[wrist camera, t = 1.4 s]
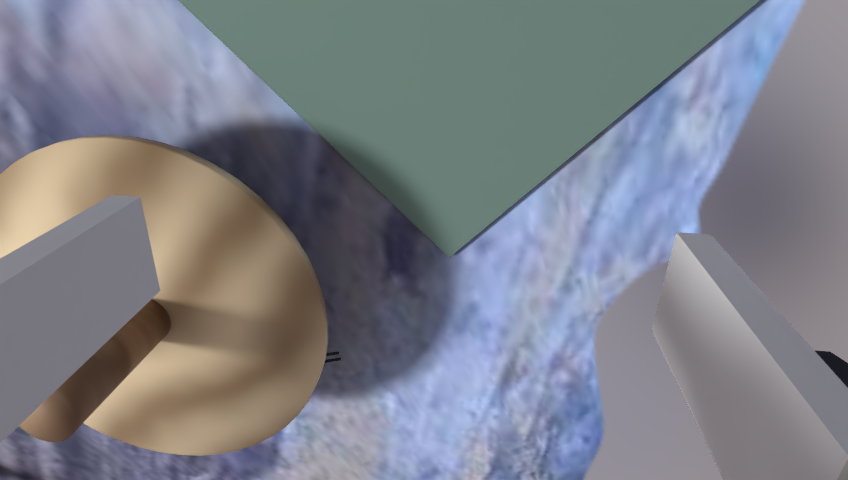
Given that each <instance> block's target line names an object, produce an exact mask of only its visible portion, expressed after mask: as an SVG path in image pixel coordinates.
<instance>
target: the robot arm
mask: <svg viewBox="0 0 848 480" xmlns="http://www.w3.org/2000/svg"><path fill="white" fill-rule="evenodd" d="M159 292H160V287H159V282H158V277H157V272H156V268H155V263H154V258H153V254H152V249H151V244H150V239H149V235H148V230H147V225H146V221H145V216H144V211H143V206H142V202H141V197H135V196H120V195H111V196H109V197H107V198H105V199H104V200H102V201H100V202H98V203H97V204H95V205H93V206H91V207H90V208H88V209H86V210H84V211H83V212H81V213H79V214H77V215H76V216H74V217H72V218H70V219H69V220H67V221H65V222H63V223H62V224H60V225H58V226H56V227H55V228H53V229H51V230H49V231H48V232H46V233H44V234H42V235H41V236H39V237H37V238H35V239H34V240H32V241H30V242H28V243H27V244H25V245H23V246H21V247H20V248H18V249H16V250H14V251H13V252H11V253H9V254H7V255H6V256H4V257H2V258H0V443H1V442H2V441H3V440H4V439H5V438H6V437H7V436H9V435H10V434H11V433H12V432H13V431H14V430H15V429H16V428H17V427H18V426H19V425H20V424H21V423H22V422H23V421H24V420H25V419H26V418H27V417H28V416H30V415H31V414H32V413H33V412H34V411H35V410H36V409H37V408H38V407H39V406H40V405H41V404H42V403H43V402H44V401H45V400H46V399H47V398H48V397H49V396H51V395H52V394H53V393H54V392H55V391H56V390H57V389H58V388H59V387H60V386H61V385H62V384H63V383H64V382H65V381H66V380H67V379H68V378H69V377H70V376H72V375H73V374H74V373H75V372H76V371H77V370H78V369H79V368H80V367H81V366H82V365H83V364H84V363H85V362H86V361H87V360H88V359H89V358H90V357H91V356H92V355H94V354H95V353H96V352H97V351H98V350H99V349H100V348H101V347H102V346H103V345H104V344H105V343H106V342H107V341H108V340H109V339H110V338H111V337H112V336H113V335H115V334H116V333H117V332H118V331H119V330H120V329H121V328H122V327H123V326H124V325H125V324H126V323H127V322H128V321H129V320H130V319H131V318H132V317H133V316H134V315H136V314H137V313H138V312H139V311H140V310H141V309H142V308H143V307H144V306H145V305H146V304H147V303H148V302H149V301H150V300H151V299H152V298H153V297H154V296H155V295H157V294H158V293H159ZM652 332H653V334H654V336H655V338H656V340H657V342H658V344H659V347H660V348H661V351H662V353H663V355H664V357H665V359H666V361H667V363H668V365H669V367H670V369H671V372H672V374H673V375H674V377H675V380H676V382H677V384H678V386H679V388H680V390H681V392H682V394H683V397H684V398H685V401H686V403H687V405H688V407H689V409H690V411H691V413H692V415H693V417H694V419H695V422H696V423H697V426H698V428H699V430H700V432H701V434H702V436H703V438H704V440H705V442H706V444H707V447H708V448H709V451H710V453H711V455H712V457H713V459H714V461H715V463H716V465H717V467H718V469H719V472H720V474H721V476H722V478H723V480H848V363H847V362H845V361H844V360H842V359H840V358H839V357H837V356H836V355H834V354H833V353H831V352H825V351H814V350H813V349H812V347H811V346H810V345H809V344H808V343H807V342H806V341H805V340H804V339H803V337H802V336H801V335H800V334H799V333H798V332H797V331H796V330H795V328H793V326H792V325H791V324H790V323H789V322H788V321H787V320H786V318H785V317H784V316H783V315H782V314H781V313H780V312H779V311H778V309H777V308H776V307H775V306H774V305H773V304H772V303H771V302H770V301H769V299H768V298H767V297H766V296H765V295H764V294H763V293H762V292H761V290H760V289H759V288H758V287H757V286H756V285H755V284H754V283H753V281H751V279H750V278H749V277H748V276H747V275H746V274H745V273H744V271H743V270H742V269H741V268H740V267H739V266H738V265H737V264H736V263H735V261H734V260H733V259H732V258H731V257H730V256H729V255H728V254H727V252H725V250H724V249H723V248H722V247H721V246H720V245H719V244H718V242H717V241H716V240H715V239H714V238H713V237H712V236H711V235H708V234H693V233H678V232H677V233H676V237H675V241H674V245H673V249H672V253H671V257H670V260H669V264H668V268H667V272H666V276H665V280H664V284H663V288H662V292H661V296H660V300H659V304H658V307H657V312H656V315H655V320H654V324H653V327H652Z"/></svg>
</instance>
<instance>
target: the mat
mask: <svg viewBox="0 0 848 480" xmlns="http://www.w3.org/2000/svg"><path fill="white" fill-rule="evenodd" d="M178 1H180V2H181V3H182V4H183V5H184V6H185V7H186V8H187V9H188V10H189V11H190V12H191V13H192V14H193V15H194V16H195V17H196V18H197V19H198V20H200V21H201V22H202V23H203V24H204V25H205V26H206V27H207V28H208V29H209V30H210V31H211V32H212V33H213V34H214V35H215V36H216V37H217V38H218V39H220V40H221V41H222V42H223V43H224V44H225V45H226V46H227V47H228V48H229V49H230V50H231V51H232V52H233V53H234V54H235V55H236V56H237V57H238V58H240V59H241V60H242V61H243V62H244V63H245V64H246V65H247V66H248V67H249V68H250V69H251V70H252V71H253V72H254V73H255V74H256V75H257V76H258V77H260V78H261V79H262V80H263V81H264V82H265V83H266V84H267V85H268V86H269V87H270V88H271V89H272V90H273V91H274V92H275V93H276V94H277V95H278V96H280V97H281V98H282V99H283V100H284V101H285V102H286V103H287V104H288V105H289V106H290V107H291V108H292V109H293V110H294V111H295V112H296V113H297V114H298V115H299V116H301V117H302V118H303V119H304V120H305V121H306V122H307V123H308V124H309V125H310V126H311V127H312V128H313V129H314V130H315V131H316V132H317V133H318V134H319V135H321V136H322V137H323V138H324V139H325V140H326V141H327V142H328V143H329V144H330V145H331V146H332V147H333V148H334V149H335V150H336V151H337V152H338V153H339V154H341V155H342V156H343V157H344V158H345V159H346V160H347V161H348V162H349V163H350V164H351V165H352V166H353V167H354V168H355V169H356V170H357V171H358V172H359V173H361V174H362V175H363V176H364V177H365V178H366V179H367V180H368V181H369V182H370V183H371V184H372V185H373V186H374V187H375V188H376V189H377V190H378V191H379V192H381V193H382V194H383V195H384V196H385V197H386V198H387V199H388V200H389V201H390V202H391V203H392V204H393V205H394V206H395V207H396V208H397V209H398V210H399V211H401V212H402V213H403V214H404V215H405V216H406V217H407V218H408V219H409V220H410V221H411V222H412V223H413V224H414V225H415V226H416V227H417V228H418V229H419V230H420V231H422V232H423V233H424V234H425V235H426V236H427V237H428V238H429V239H430V240H431V241H432V242H433V243H434V244H435V245H436V246H437V247H438V248H439V249H440V250H442V251H443V252H444V253H445V254H446V255H447V256H448V257H451V256H452V255H453V254H454V253H455V252H457V251H458V250H459V249H460V248H461V247H463V246H464V245H465V244H466V243H468V242H469V241H470V240H471V239H472V238H474V237H475V236H476V235H477V234H478V233H480V232H481V231H482V230H483V229H484V228H486V227H487V226H488V225H489V224H490V223H492V222H493V221H494V220H495V219H497V218H498V217H499V216H500V215H501V214H503V213H504V212H505V211H506V210H507V209H509V208H510V207H511V206H512V205H513V204H515V203H516V202H517V201H518V200H519V199H521V198H522V197H523V196H524V195H526V194H527V193H528V192H529V191H530V190H532V189H533V188H534V187H535V186H536V185H538V184H539V183H540V182H541V181H542V180H544V179H545V178H546V177H547V176H548V175H550V174H551V173H552V172H553V171H555V170H556V169H557V168H558V167H559V166H561V165H562V164H563V163H564V162H565V161H567V160H568V159H569V158H570V157H571V156H573V155H574V154H575V153H576V152H577V151H579V150H580V149H581V148H582V147H584V146H585V145H586V144H587V143H588V142H590V141H591V140H592V139H593V138H594V137H596V136H597V135H598V134H599V133H600V132H602V131H603V130H604V129H605V128H606V127H608V126H609V125H610V124H611V123H613V122H614V121H615V120H616V119H617V118H619V117H620V116H621V115H622V114H623V113H625V112H626V111H627V110H628V109H629V108H631V107H632V106H633V105H634V104H635V103H637V102H638V101H639V100H640V99H642V98H643V97H644V96H645V95H646V94H648V93H649V92H650V91H651V90H652V89H654V88H655V87H656V86H657V85H658V84H660V83H661V82H662V81H663V80H664V79H666V78H667V77H668V76H669V75H671V74H672V73H673V72H674V71H675V70H677V69H678V68H679V67H680V66H681V65H683V64H684V63H685V62H686V61H687V60H689V59H690V58H691V57H692V56H693V55H695V54H696V53H697V52H698V51H700V50H701V49H702V48H703V47H704V46H706V45H707V44H708V43H709V42H710V41H712V40H713V39H714V38H715V37H716V36H718V35H719V34H720V33H721V32H722V31H724V30H725V29H726V28H727V27H728V26H730V25H731V24H732V23H733V22H735V21H736V20H737V19H738V18H739V17H741V16H742V15H743V14H744V13H745V12H747V11H748V10H749V9H750V8H751V7H753V6H754V5H755V4H756V3H757V2H759V1H760V0H178Z"/></svg>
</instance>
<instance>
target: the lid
mask: <svg viewBox="0 0 848 480" xmlns="http://www.w3.org/2000/svg"><path fill="white" fill-rule="evenodd" d="M111 195H120V196H135V197H141V202H142V206H143V211H144V216H145V221H146V225H147V230H148V235H149V239H150V244H151V249H152V254H153V258H154V263H155V268H156V272H157V277H158V282H159V287H160V292H159V293H158V294H157V295H155V296H154V297H153V298H152V299H151V300H150V301H149V302H148V303H147V304H146V305H145V306H144V307H143V308H142V309H141V310H140V311H139V312H138V313H137V314H136V315H134V316H133V317H132V318H131V319H130V320H129V321H128V322H127V323H126V324H125V325H124V326H123V327H122V328H121V329H120V330H119V331H118V332H117V333H116V334H115V335H113V336H112V337H111V338H110V339H109V340H108V341H107V342H106V343H105V344H104V345H103V346H102V347H101V348H100V349H99V350H98V351H97V352H96V353H95V354H94V355H92V356H91V357H90V358H89V359H88V360H87V361H86V362H85V363H84V364H83V365H82V366H81V367H80V368H79V369H78V370H77V371H76V372H75V373H74V374H73V375H72V376H70V377H69V378H68V379H67V380H66V381H65V382H64V383H63V384H62V385H61V386H60V387H59V388H58V389H57V390H56V391H55V392H54V393H53V394H52V395H51V396H49V397H48V398H47V399H46V400H45V401H44V402H43V403H42V404H41V405H40V406H39V407H38V408H37V409H36V410H35V411H34V412H33V413H32V414H31V415H30V416H28V417H27V418H26V419H25V420H24V421H23V422H22V423H21V424H20V425H19V426H20V427H21V428H22V429H23V430H24V431H26V432H27V433H29V434H30V435H32V436H34V437H36V438H38V439H41V440H44V441H48V442H60V441H64V440H66V439H68V438H69V437H70V436H71V435H72V434H73V433H74V432H75V431H76V430H77V429H78V428H79V427H80V426H81V425H82V424H83V423H84V424H86V425H88V426H90V427H91V428H93V429H95V430H97V431H99V432H101V433H103V434H106V435H108V436H110V437H113V438H115V439H117V440H120V441H122V442H125V443H128V444H131V445H135V446H138V447H141V448H145V449H149V450H154V451H158V452H164V453H171V454H179V455H212V454H222V453H227V452H232V451H237V450H240V449H244V448H247V447H250V446H253V445H255V444H257V443H260V442H262V441H264V440H266V439H268V438H270V437H272V436H273V435H274V434H276V433H277V432H279V431H280V430H282V429H283V428H285V427H286V426H287V425H288V424H289V423H290V422H291V421H292V420H293V419H294V418H295V417H296V416H297V415H298V414H299V413H300V412H301V410H302V409H303V408H304V406H305V405H306V404H307V402H308V401H309V399H310V397H311V395H312V393H313V391H314V389H315V387H316V385H317V383H318V381H319V378H320V376H321V373H322V369H323V366H324V363H325V360H326V354H327V347H328V317H327V311H326V305H325V299H324V296H323V293H322V290H321V286H320V283H319V280H318V277H317V275H316V273H315V271H314V269H313V267H312V264H311V262H310V260H309V258H308V256H307V254H306V253H305V251H304V250H303V248H302V246H301V245H300V243H299V242H298V240H297V238H296V237H295V235H294V234H293V233H292V231H291V230H290V229H289V228H288V226H287V225H286V224H285V223H284V221H283V220H282V219H281V218H280V216H279V215H278V214H277V213H276V212H275V211H274V210H273V209H272V208H271V207H270V206H269V205H268V204H267V203H266V202H265V201H264V200H263V199H262V198H261V197H260V196H259V195H257V194H256V193H255V192H254V191H252V190H251V189H250V188H249V187H247V186H246V185H245V184H244V183H242V182H241V181H240V180H239V179H237V178H236V177H234V176H232V175H231V174H229V173H228V172H226V171H225V170H223V169H221V168H220V167H218V166H217V165H215V164H213V163H211V162H209V161H207V160H205V159H203V158H201V157H199V156H197V155H195V154H193V153H191V152H188V151H185V150H183V149H180V148H177V147H174V146H171V145H168V144H165V143H162V142H158V141H153V140H149V139H144V138H139V137H131V136H120V135H96V136H84V137H79V138H74V139H69V140H64V141H61V142H58V143H55V144H53V145H50V146H47V147H45V148H42V149H39V150H37V151H34V152H31V153H30V154H28V155H26V156H25V157H23V158H21V159H20V160H18V161H16V162H15V163H13V164H12V165H11V166H10V167H8V168H7V169H6V170H5V171H4V172H3V173H2V174H0V258H2V257H4V256H6V255H7V254H9V253H11V252H13V251H14V250H16V249H18V248H20V247H21V246H23V245H25V244H27V243H28V242H30V241H32V240H34V239H35V238H37V237H39V236H41V235H42V234H44V233H46V232H48V231H49V230H51V229H53V228H55V227H56V226H58V225H60V224H62V223H63V222H65V221H67V220H69V219H70V218H72V217H74V216H76V215H77V214H79V213H81V212H83V211H84V210H86V209H88V208H90V207H91V206H93V205H95V204H97V203H98V202H100V201H102V200H104V199H105V198H107V197H109V196H111Z"/></svg>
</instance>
